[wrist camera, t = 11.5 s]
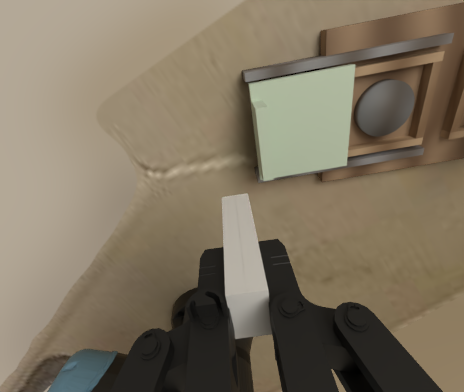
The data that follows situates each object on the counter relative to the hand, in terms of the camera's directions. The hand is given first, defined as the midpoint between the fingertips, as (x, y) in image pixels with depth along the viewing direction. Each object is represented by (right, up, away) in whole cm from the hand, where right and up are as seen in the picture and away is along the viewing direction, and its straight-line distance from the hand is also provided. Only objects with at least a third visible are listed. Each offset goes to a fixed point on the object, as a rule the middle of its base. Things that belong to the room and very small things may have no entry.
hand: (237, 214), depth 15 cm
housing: (+17, +12, +13) cm, 25 cm away
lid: (+7, +8, +11) cm, 15 cm away
